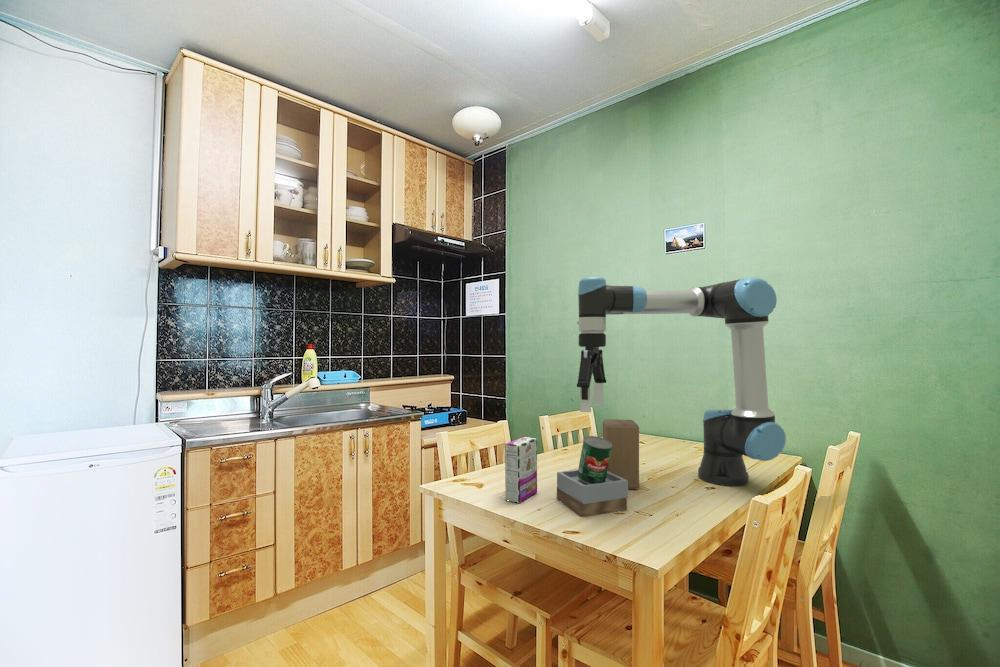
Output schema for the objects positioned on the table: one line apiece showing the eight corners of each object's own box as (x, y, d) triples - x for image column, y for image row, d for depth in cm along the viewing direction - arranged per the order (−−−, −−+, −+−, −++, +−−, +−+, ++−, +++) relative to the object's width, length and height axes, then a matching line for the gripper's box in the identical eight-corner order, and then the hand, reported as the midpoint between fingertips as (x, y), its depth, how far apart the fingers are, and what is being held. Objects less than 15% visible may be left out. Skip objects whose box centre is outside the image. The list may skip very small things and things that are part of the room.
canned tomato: (592, 470, 132) (599, 435, 130) (611, 483, 125) (618, 446, 124) (571, 473, 128) (577, 436, 126) (589, 487, 121) (596, 448, 120)
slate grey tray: (598, 482, 136) (598, 467, 136) (628, 497, 123) (628, 480, 123) (557, 487, 131) (557, 472, 131) (583, 504, 118) (583, 486, 118)
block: (633, 480, 149) (633, 419, 149) (639, 490, 139) (639, 424, 139) (602, 479, 150) (602, 418, 150) (606, 489, 140) (606, 424, 140)
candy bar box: (523, 490, 139) (523, 436, 139) (537, 493, 136) (537, 438, 136) (503, 500, 129) (504, 443, 130) (519, 504, 127) (519, 445, 127)
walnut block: (599, 495, 136) (599, 482, 136) (626, 512, 123) (626, 497, 123) (556, 501, 131) (556, 487, 131) (580, 519, 118) (580, 503, 118)
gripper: (590, 333, 141) (591, 402, 140) (565, 332, 118) (565, 413, 118) (615, 333, 137) (615, 403, 137) (593, 331, 115) (593, 416, 115)
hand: (592, 408), depth 128 cm, fingers open, 13 cm apart
